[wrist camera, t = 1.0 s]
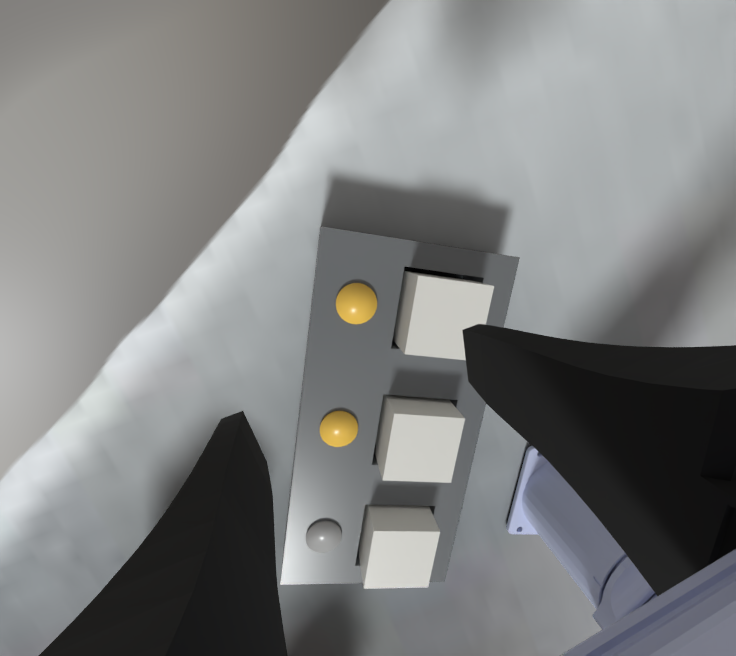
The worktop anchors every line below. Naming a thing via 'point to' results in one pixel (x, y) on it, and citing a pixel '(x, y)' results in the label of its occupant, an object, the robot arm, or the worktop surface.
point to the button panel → (373, 399)
